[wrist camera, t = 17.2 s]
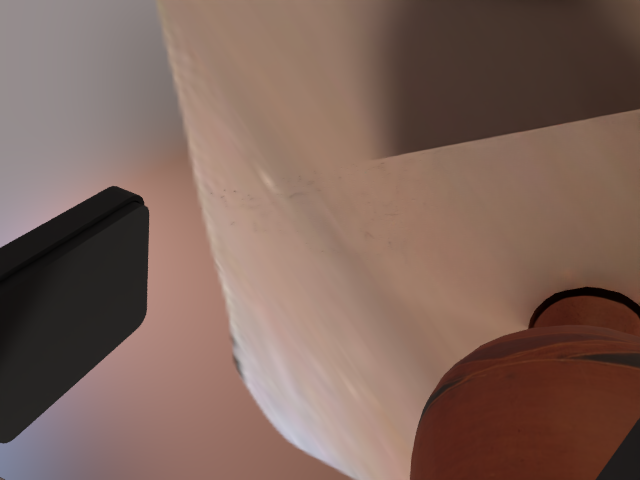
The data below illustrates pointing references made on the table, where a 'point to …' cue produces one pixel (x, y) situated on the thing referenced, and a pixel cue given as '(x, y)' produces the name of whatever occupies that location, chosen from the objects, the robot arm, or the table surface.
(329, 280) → the table surface
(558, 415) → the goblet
